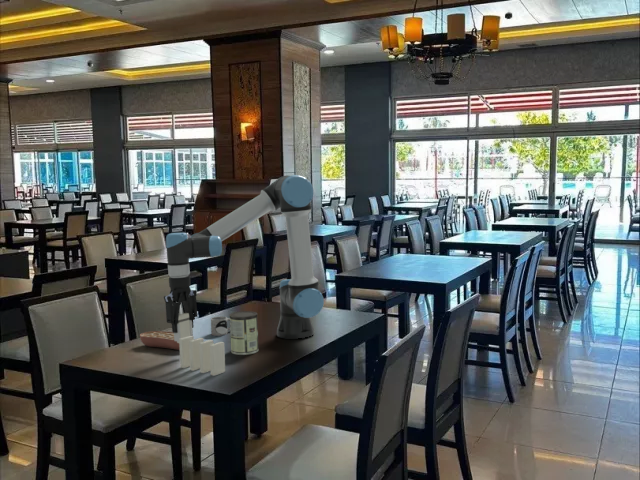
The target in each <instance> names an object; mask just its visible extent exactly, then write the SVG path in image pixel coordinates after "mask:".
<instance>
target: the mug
mask: <svg viewBox="0 0 640 480" xmlns="http://www.w3.org/2000/svg"><path fill="white" fill-rule="evenodd" d="M228 322H230V317H227V316H219V315H218V316H213V317H211V318H210V326H211V328H210V331H211V332H210V333H211V334H210V335H211V336H213V337H214V336H215V337H216V336H217V337H222V336H227V335H228V332H230V326H229V327H228Z"/></svg>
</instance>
